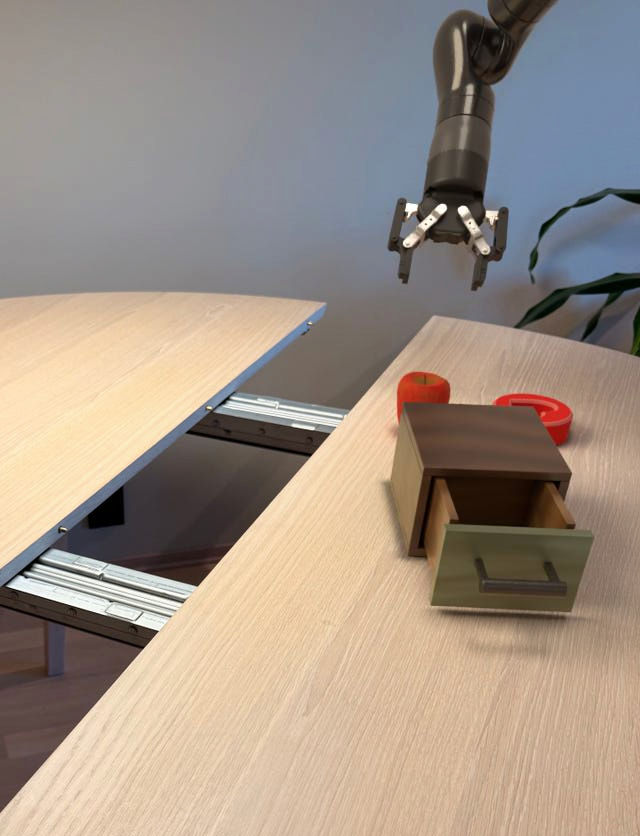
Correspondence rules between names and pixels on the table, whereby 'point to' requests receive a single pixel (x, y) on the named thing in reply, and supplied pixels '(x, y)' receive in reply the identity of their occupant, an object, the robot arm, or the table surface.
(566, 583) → the drawer
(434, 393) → the apple
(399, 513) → the cabinet
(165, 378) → the table surface
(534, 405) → the decorative ornament
